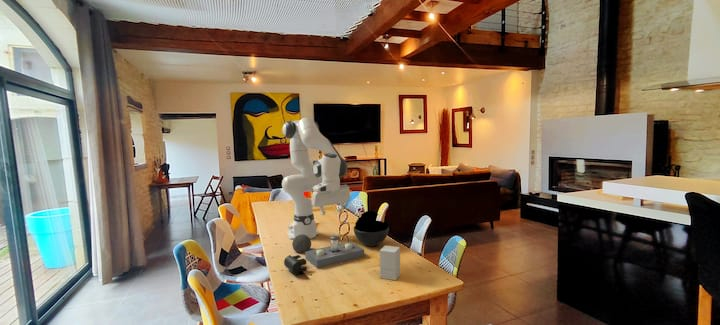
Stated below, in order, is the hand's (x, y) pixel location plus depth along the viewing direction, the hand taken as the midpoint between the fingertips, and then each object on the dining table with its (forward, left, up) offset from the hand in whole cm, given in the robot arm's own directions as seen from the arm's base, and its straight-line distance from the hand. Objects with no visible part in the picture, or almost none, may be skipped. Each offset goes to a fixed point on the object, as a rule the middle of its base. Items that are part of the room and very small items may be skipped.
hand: (331, 213), depth 165 cm
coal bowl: (-6, +28, -24) cm, 37 cm away
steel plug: (+3, 0, -22) cm, 22 cm away
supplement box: (+33, +12, -24) cm, 42 cm away
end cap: (+5, -22, -24) cm, 33 cm away
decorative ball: (-16, -10, -24) cm, 30 cm away
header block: (+3, 0, -24) cm, 24 cm away
